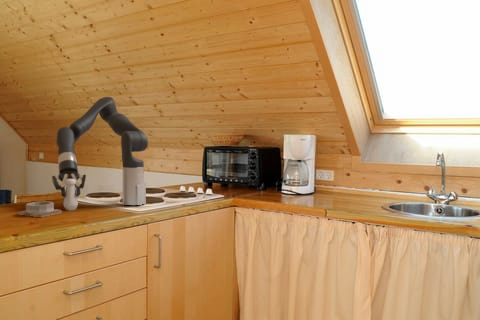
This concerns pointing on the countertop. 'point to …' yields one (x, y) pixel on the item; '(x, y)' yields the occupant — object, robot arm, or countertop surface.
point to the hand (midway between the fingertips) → (71, 195)
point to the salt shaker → (70, 195)
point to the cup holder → (40, 209)
